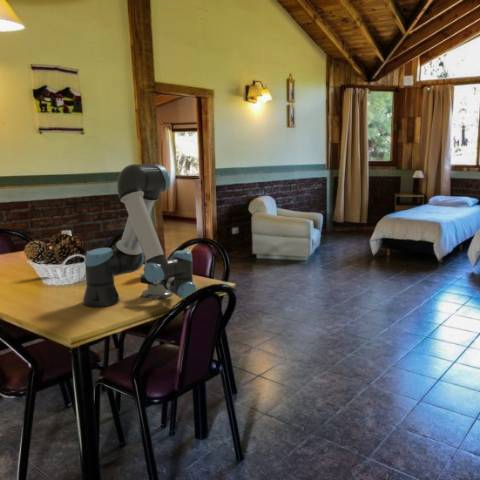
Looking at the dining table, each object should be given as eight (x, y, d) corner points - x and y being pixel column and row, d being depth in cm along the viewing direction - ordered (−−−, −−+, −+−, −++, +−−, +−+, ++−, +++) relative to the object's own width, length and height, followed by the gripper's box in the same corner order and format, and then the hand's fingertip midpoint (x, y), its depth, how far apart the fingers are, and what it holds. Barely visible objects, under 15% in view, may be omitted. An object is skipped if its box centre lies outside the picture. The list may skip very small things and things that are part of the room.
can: (169, 289, 221) (169, 264, 219) (164, 295, 212) (164, 269, 210) (150, 289, 222) (150, 264, 220) (145, 294, 213) (144, 269, 211)
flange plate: (152, 300, 208) (152, 297, 208) (136, 294, 218) (136, 291, 218) (178, 294, 217) (178, 292, 217) (162, 288, 227) (162, 286, 227)
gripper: (146, 296, 194) (129, 285, 212) (200, 288, 207) (180, 278, 225) (146, 278, 193) (129, 269, 211) (200, 271, 206) (180, 262, 224)
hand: (155, 273), depth 218 cm, fingers open, 13 cm apart
